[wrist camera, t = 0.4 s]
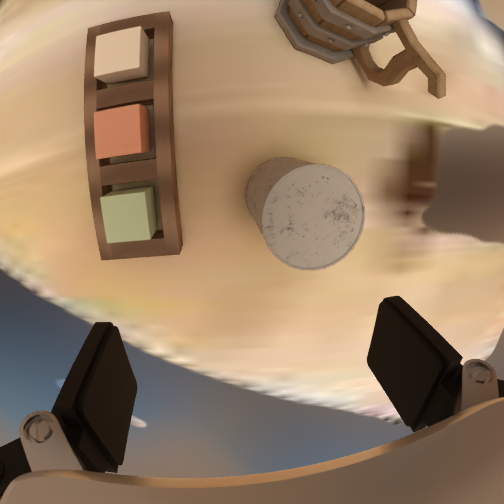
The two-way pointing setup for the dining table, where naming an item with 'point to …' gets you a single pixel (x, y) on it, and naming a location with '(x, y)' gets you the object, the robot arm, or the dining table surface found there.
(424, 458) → the robot arm
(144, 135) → the terracotta key
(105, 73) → the cream key
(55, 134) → the dining table surface
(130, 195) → the sage key
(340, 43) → the tankard
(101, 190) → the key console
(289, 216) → the grey stone cylinder
